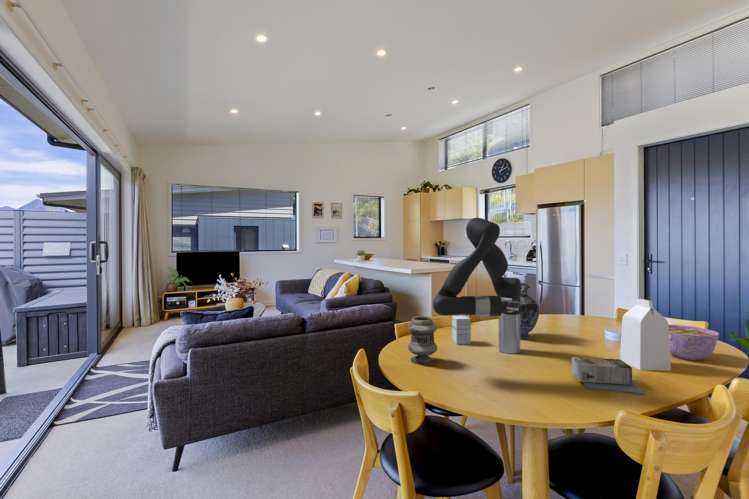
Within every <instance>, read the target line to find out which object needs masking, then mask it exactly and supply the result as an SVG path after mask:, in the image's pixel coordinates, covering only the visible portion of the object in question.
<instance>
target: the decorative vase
mask: <svg viewBox="0 0 749 499" xmlns="http://www.w3.org/2000/svg"><path fill="white" fill-rule="evenodd" d="M529 289H531V286H530V285H529V283H525V282H521V302H524V303H535V304H537V310H526V311H525V312H520V341H521V340H524V341H525V340H529V339H530V340H531V338H532V336H531V334H529V333H530V332H532V331H533V330H534V328H535V327H536V326H537V322H538V320H539V317H540V316H539V314H540V306H539V303H538V300H536V298H534V297H533V296H529V294H528V290H529ZM505 300H510V301H512V298H502V302H503V301H504V302H505Z"/></svg>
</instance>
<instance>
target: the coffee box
mask: <svg viewBox="0 0 749 499" xmlns="http://www.w3.org/2000/svg"><path fill="white" fill-rule="evenodd" d="M571 374H572V375H573V376H574V377H575V378H576V379H577V380H578V381H579V382H582V383H583V382H595V383H609V384H623V385H632V381H633V367H632V366H630V365H628V364H626V363H625V362H623V361H622V360H620V358H599V357H598V358H597V357H582V356H581V357H579V356H577V357H576V356H572V357H571Z"/></svg>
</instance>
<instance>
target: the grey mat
mask: <svg viewBox="0 0 749 499" xmlns="http://www.w3.org/2000/svg"><path fill="white" fill-rule="evenodd" d="M582 383H583V384H584V386H585V387H586V389H587V390H594V391H604V392H613V393H620V392H622V393H621V394H630V393H632V394H631V395H641V396H642V395H643V396H645V392H644V391H643V390H642V389H641V388H640V387H639V386H638V385H637V384H636V383H635V382H634V381H633V380H632V385H623V384H609V383H595V382H582Z"/></svg>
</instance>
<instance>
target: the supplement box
mask: <svg viewBox="0 0 749 499" xmlns="http://www.w3.org/2000/svg"><path fill="white" fill-rule="evenodd" d="M471 319H472V318H470V317H468V315H451V329H452V330H451V340H452V341H453V342H454V343H455V344H456V345H457V346H458V345H459V346H461V345H471V344H472V340H471V339H472V333H471V332H472V329H471V328H472V325H471V324H472V323H471V322H472V320H471Z"/></svg>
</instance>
